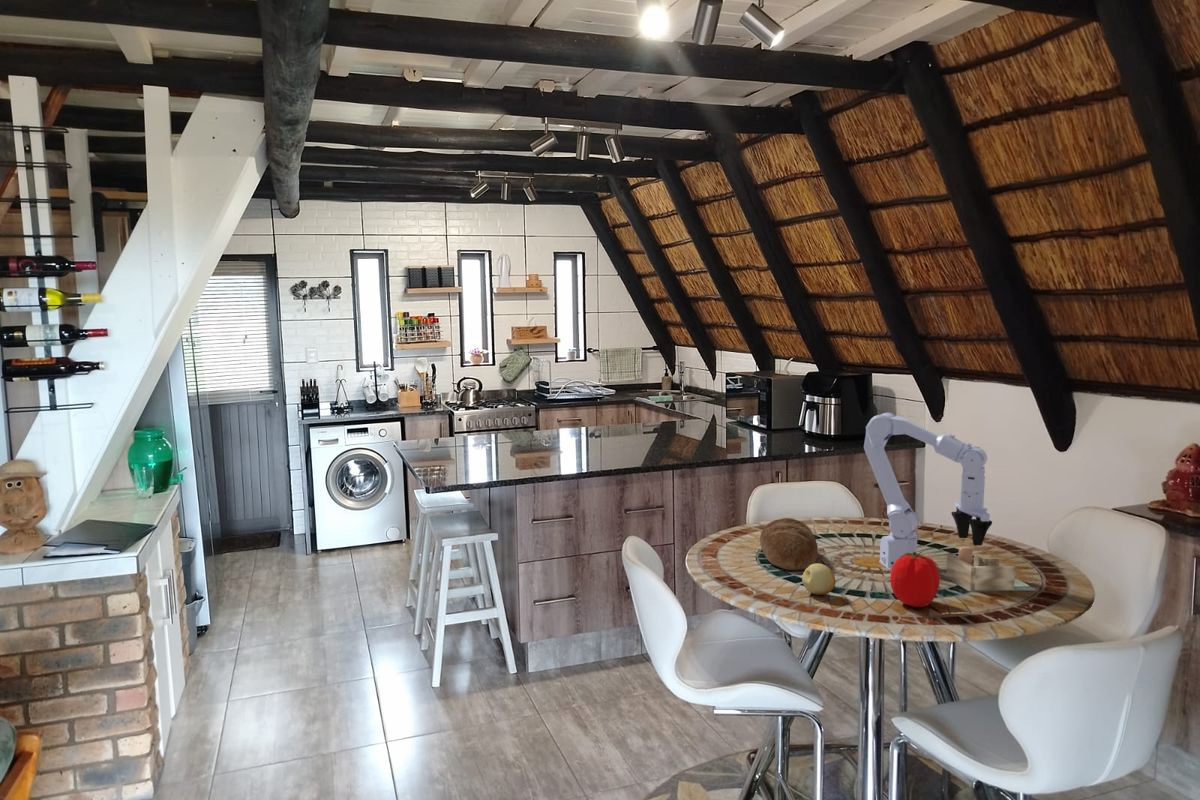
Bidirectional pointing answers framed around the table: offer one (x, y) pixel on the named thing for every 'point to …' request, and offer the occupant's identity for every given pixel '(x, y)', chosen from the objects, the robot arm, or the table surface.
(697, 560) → the table surface
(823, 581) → the fruit
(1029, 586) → the board
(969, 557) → the peg
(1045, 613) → the table surface
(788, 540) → the bread
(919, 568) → the tomato
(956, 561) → the tan piece
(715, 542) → the table surface
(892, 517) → the robot arm
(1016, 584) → the pad
